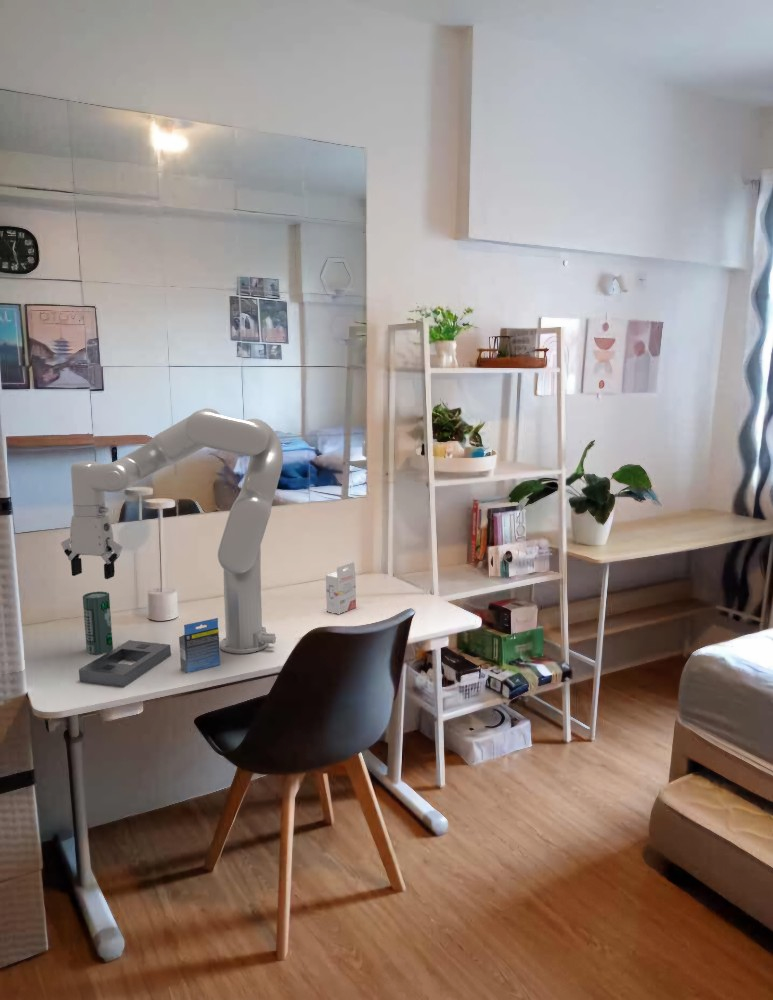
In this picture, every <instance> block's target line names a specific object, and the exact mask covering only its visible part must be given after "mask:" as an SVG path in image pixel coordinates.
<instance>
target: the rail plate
mask: <svg viewBox="0 0 773 1000" xmlns="http://www.w3.org/2000/svg"><path fill="white" fill-rule="evenodd" d="M171 648H172V647H171V644H167V643H160V642H159V643H158V642H147V641H142V640H141V641H140V640H131V639H130V640H127V641H126V642H124V643H122V644H120V645H119V646H117V647H115V648H113V650H111V651H110V652H108V653H105V654H102V655H101V656H100V657H98V658H96V659H95V660H93V661H90V662H89V663H86V664H85V665H84V666H82V667H81V668H79V669H78V678H79V679H78V681H79V682H80V683H88V684H96V685H103V686H110V687H111V686H112V687H119V688H125V687H127V686H128V685H130V684H132V683H133V682H135V680H137V679H139V678H140V677H141V676H143V675H145V674H147V672H149V671H150V670H152V669H154V668H155V667H156V666H158V665H159V664H161V663H163V661H166V660H167V659H169V658H170V657H171V656H172V654H171ZM122 661H127V662H134V663H132V664H128V663H120V662H122Z"/></svg>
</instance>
